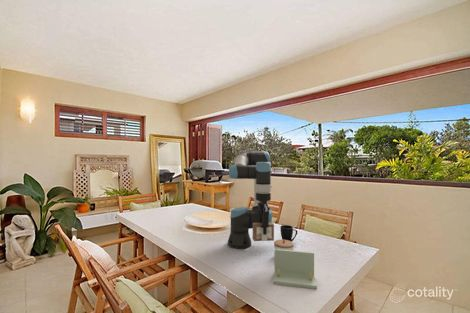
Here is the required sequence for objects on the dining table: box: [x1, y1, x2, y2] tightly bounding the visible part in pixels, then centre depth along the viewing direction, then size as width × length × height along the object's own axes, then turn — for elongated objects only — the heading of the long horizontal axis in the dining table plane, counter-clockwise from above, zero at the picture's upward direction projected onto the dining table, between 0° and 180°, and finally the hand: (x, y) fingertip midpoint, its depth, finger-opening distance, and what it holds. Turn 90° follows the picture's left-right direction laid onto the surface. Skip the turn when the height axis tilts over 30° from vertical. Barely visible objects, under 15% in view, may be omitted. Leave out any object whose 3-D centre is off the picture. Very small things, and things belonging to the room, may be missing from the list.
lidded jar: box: [273, 239, 294, 251], centre depth 128 cm, size 11×11×9 cm
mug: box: [279, 224, 298, 242], centre depth 152 cm, size 8×12×10 cm
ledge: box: [273, 248, 318, 290], centre depth 103 cm, size 18×11×11 cm, turn 77°
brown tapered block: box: [252, 221, 275, 242], centre depth 115 cm, size 10×4×8 cm, turn 97°
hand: (263, 238), depth 115 cm, fingers closed on brown tapered block, 4 cm apart
